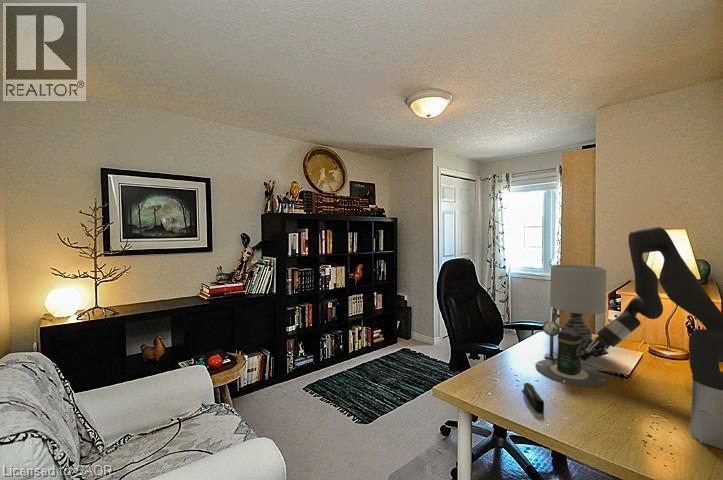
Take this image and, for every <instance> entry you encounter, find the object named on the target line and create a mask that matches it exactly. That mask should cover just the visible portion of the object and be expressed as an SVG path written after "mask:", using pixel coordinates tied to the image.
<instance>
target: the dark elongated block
mask: <svg viewBox="0 0 723 480" xmlns="http://www.w3.org/2000/svg"><path fill="white" fill-rule="evenodd" d="M521 392H522V394H524V395H525V398H526V399H527V400H528V403H529V404H530V406H531V407H532V409H533V410H534V411H535V412H536V413H538V414H544V413H545V402H544V399H543V398H542V397H540V394H538V392H537V390H536V388H535V386H534V385H533V384H531V383H529V382H524V384H523V389H521Z"/></svg>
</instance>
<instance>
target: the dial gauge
mask: <svg viewBox="0 0 723 480" xmlns="http://www.w3.org/2000/svg"><path fill="white" fill-rule="evenodd" d="M542 330H543V332H544V333H545V334H546V335H548V336H549V352H546V353H545V355H544V359H545V360H547V359H552V360H557V359H558V354H554V339H555V338H554V337H555V336H558V332H559V331H561V326H560V325H559V324H558V323H557V322H556V321H553V320H547V321H545V322H544V323H543V324H542Z"/></svg>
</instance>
